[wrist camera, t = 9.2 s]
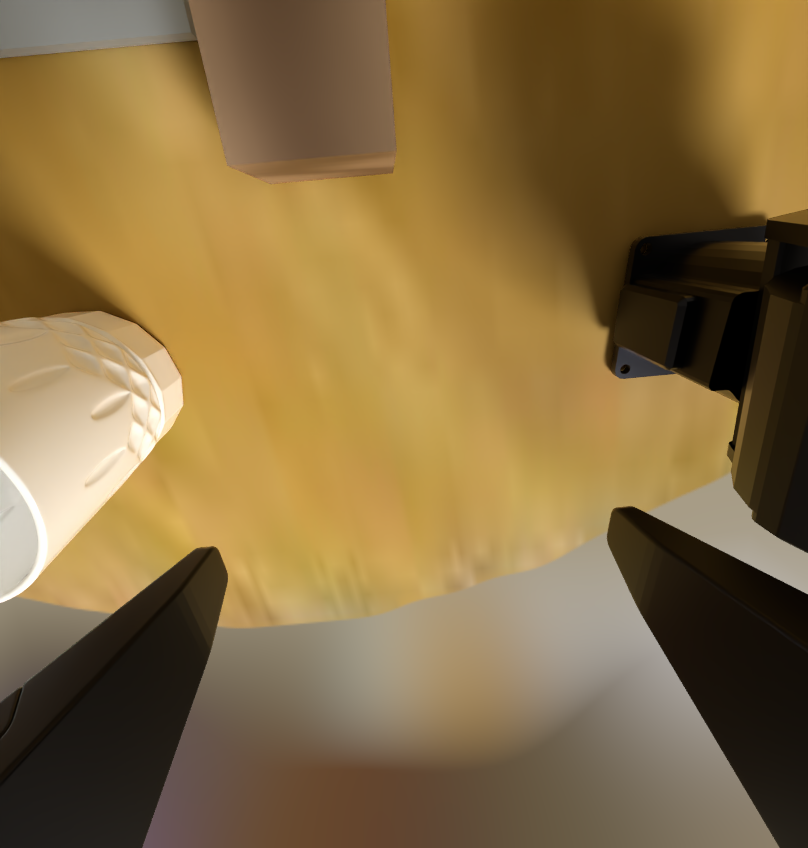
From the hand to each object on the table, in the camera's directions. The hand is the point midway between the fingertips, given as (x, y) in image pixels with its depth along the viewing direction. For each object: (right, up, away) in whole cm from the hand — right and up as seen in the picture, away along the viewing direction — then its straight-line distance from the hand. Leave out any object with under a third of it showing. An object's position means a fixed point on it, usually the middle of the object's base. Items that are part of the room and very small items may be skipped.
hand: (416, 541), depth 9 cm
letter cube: (-3, +15, +6) cm, 16 cm away
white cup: (-15, +5, +10) cm, 19 cm away
